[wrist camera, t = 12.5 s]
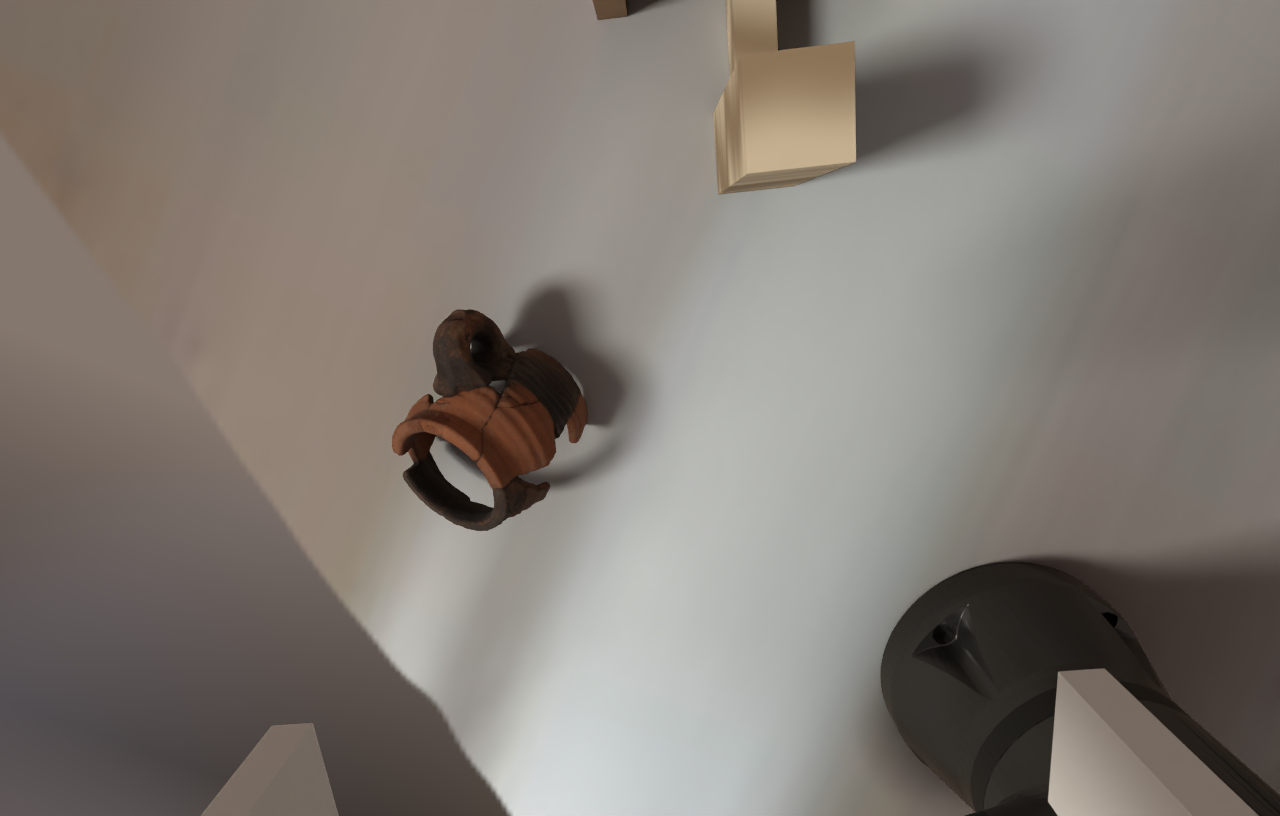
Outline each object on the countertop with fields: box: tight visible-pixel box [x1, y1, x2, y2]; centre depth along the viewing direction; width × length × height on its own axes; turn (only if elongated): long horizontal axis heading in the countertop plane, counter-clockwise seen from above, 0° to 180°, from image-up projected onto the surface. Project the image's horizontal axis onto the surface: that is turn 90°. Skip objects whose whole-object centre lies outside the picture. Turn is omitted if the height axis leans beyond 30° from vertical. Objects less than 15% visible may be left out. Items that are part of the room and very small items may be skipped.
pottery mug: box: [392, 310, 587, 531], centre depth 35 cm, size 12×10×8 cm
